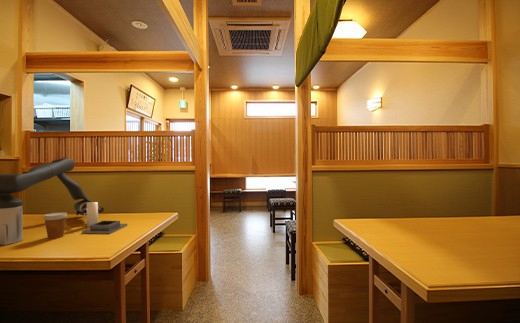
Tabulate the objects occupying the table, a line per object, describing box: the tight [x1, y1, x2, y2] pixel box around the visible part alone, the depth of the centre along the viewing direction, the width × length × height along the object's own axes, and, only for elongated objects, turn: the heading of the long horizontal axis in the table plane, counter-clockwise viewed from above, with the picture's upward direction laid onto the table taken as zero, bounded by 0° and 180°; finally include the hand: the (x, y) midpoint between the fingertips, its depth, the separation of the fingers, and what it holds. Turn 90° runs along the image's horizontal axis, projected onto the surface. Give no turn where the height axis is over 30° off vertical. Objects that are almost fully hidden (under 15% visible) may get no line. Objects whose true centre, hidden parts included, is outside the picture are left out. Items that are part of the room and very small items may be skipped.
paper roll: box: [86, 201, 99, 228], centre depth 145 cm, size 6×6×14 cm
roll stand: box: [81, 220, 128, 235], centre depth 138 cm, size 16×16×4 cm
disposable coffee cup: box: [43, 211, 68, 240], centre depth 124 cm, size 10×10×12 cm
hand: (91, 212), depth 146 cm, fingers open, 8 cm apart
